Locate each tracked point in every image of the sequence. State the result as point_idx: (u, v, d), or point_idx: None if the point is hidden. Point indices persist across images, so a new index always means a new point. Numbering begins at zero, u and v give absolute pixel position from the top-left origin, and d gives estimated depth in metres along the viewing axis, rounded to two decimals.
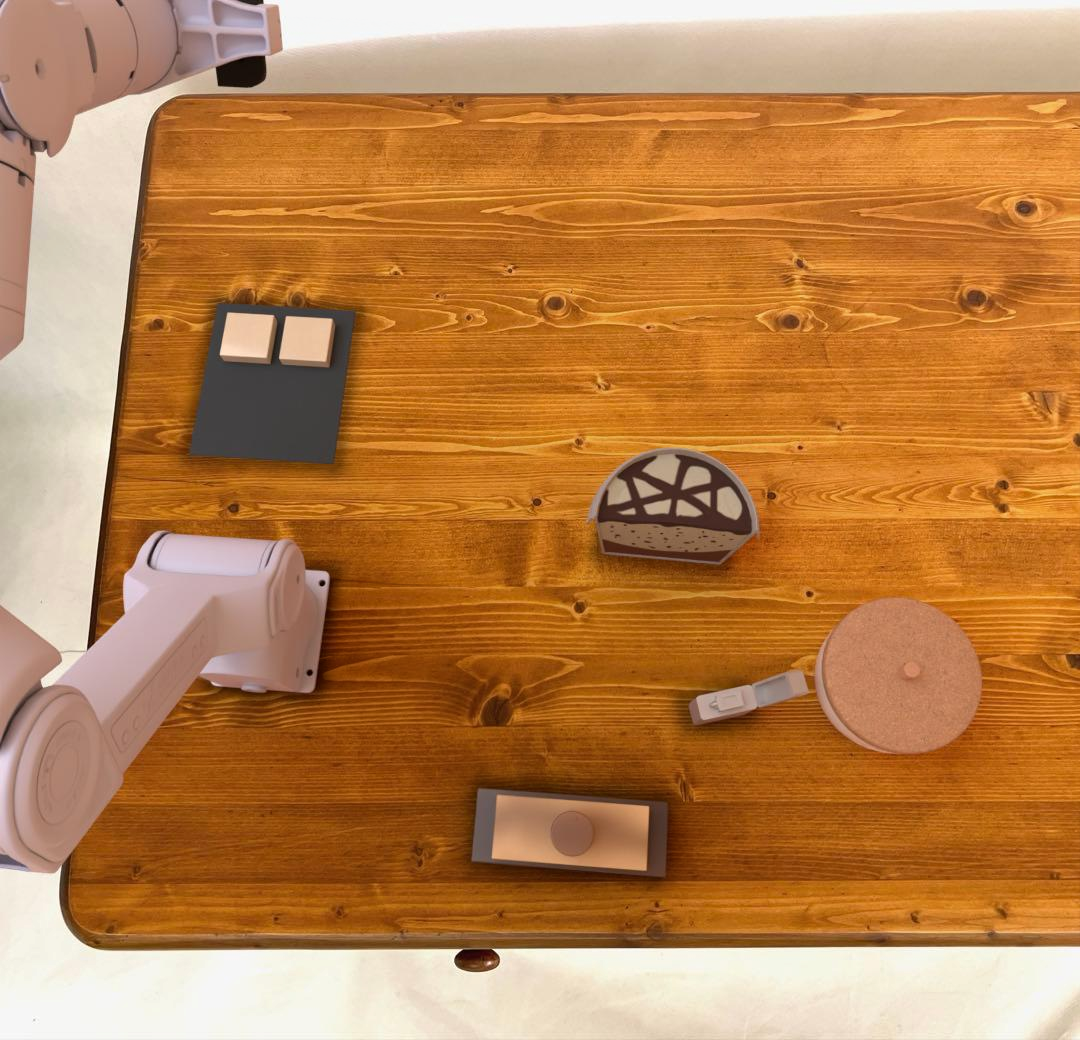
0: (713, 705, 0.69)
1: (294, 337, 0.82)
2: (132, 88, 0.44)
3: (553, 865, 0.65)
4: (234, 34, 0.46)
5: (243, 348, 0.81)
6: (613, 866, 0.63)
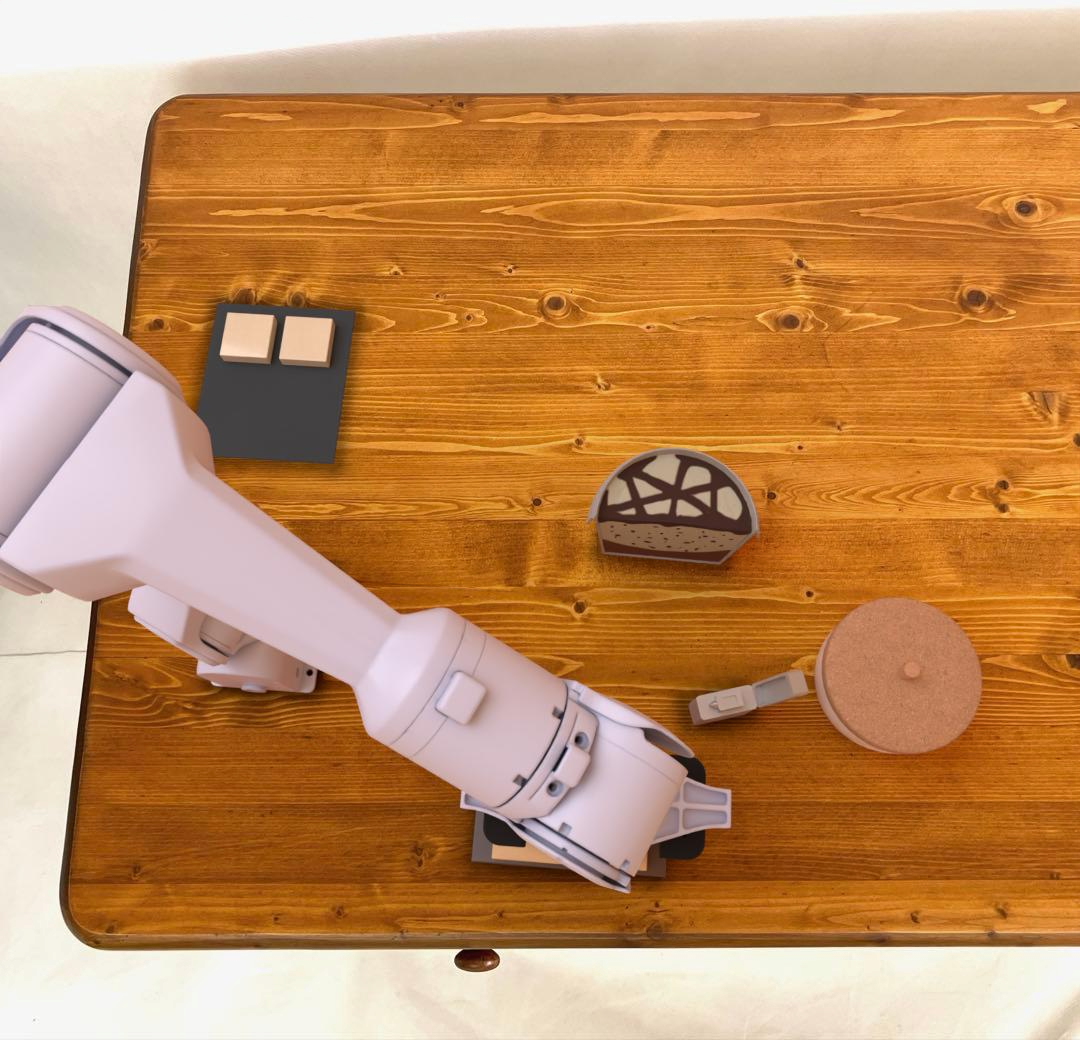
0: (713, 705, 0.69)
1: (294, 337, 0.82)
2: None
3: (553, 865, 0.65)
4: (697, 810, 0.52)
5: (243, 348, 0.81)
6: None
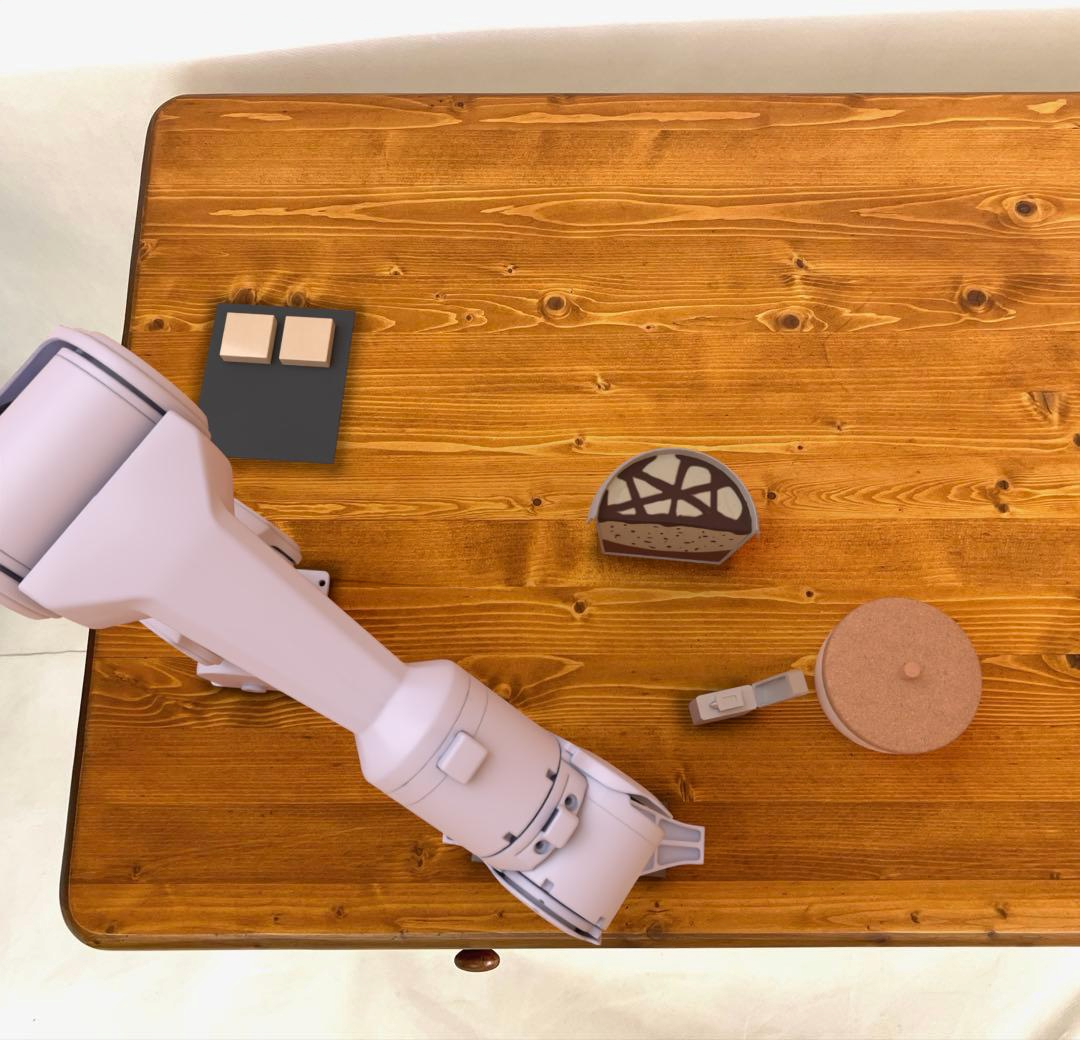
0: (713, 705, 0.69)
1: (294, 337, 0.82)
2: None
3: None
4: (672, 846, 0.54)
5: (243, 348, 0.81)
6: None
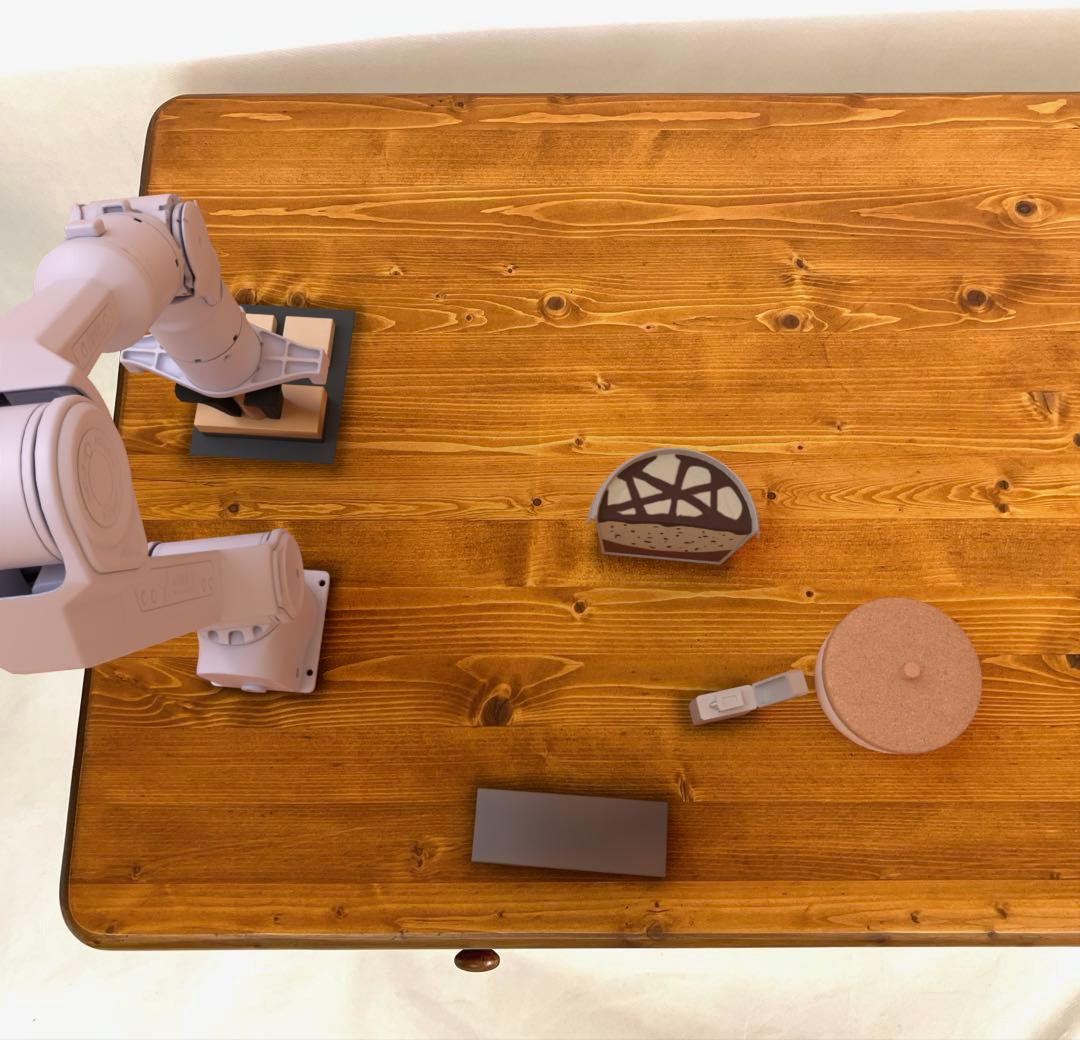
0: (713, 705, 0.69)
1: (294, 337, 0.82)
2: (225, 362, 0.66)
3: (553, 865, 0.65)
4: (297, 362, 0.70)
5: None
6: (290, 429, 0.78)
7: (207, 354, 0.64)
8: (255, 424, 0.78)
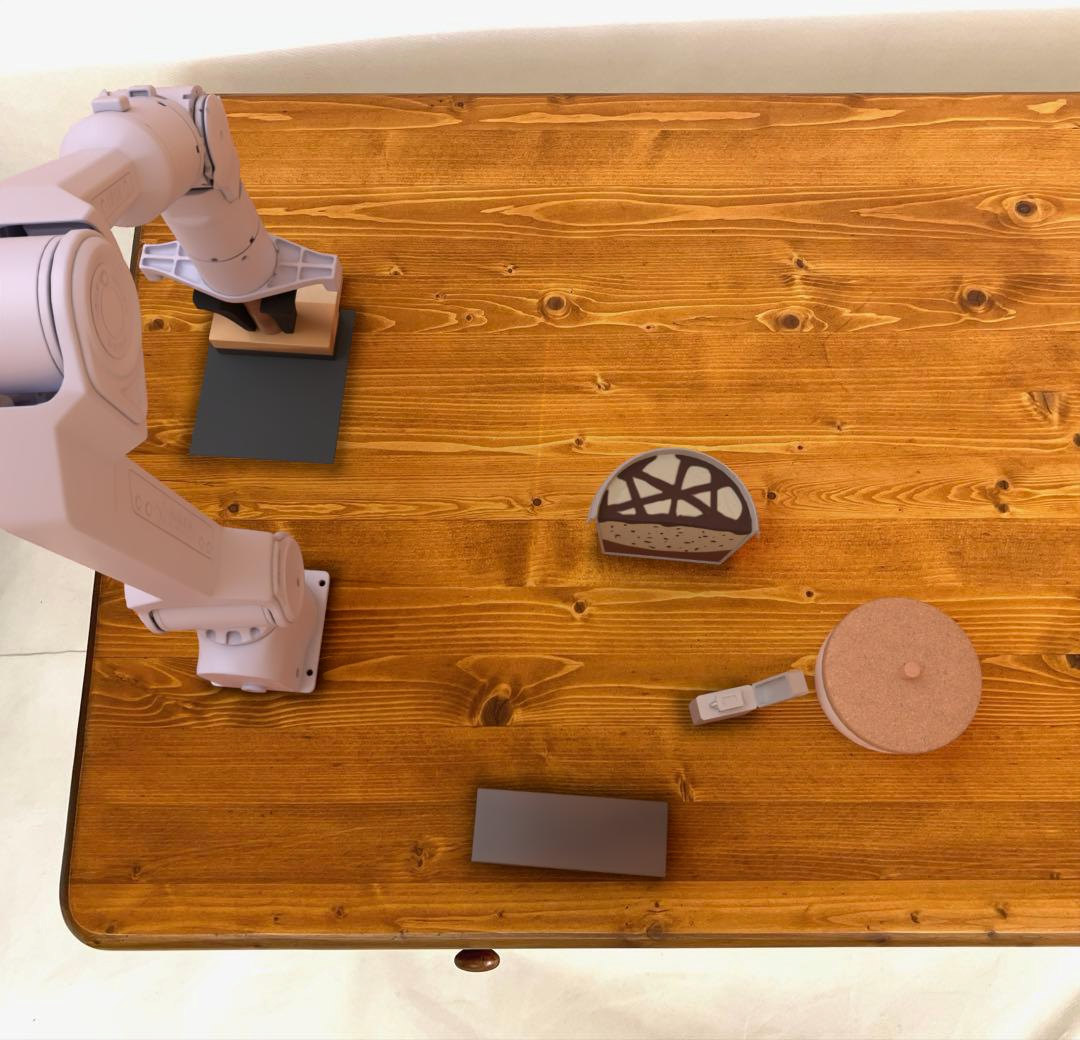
0: (713, 705, 0.69)
1: (302, 288, 0.83)
2: (243, 263, 0.68)
3: (553, 865, 0.65)
4: (312, 269, 0.72)
5: None
6: (303, 344, 0.80)
7: (224, 253, 0.66)
8: (268, 339, 0.80)
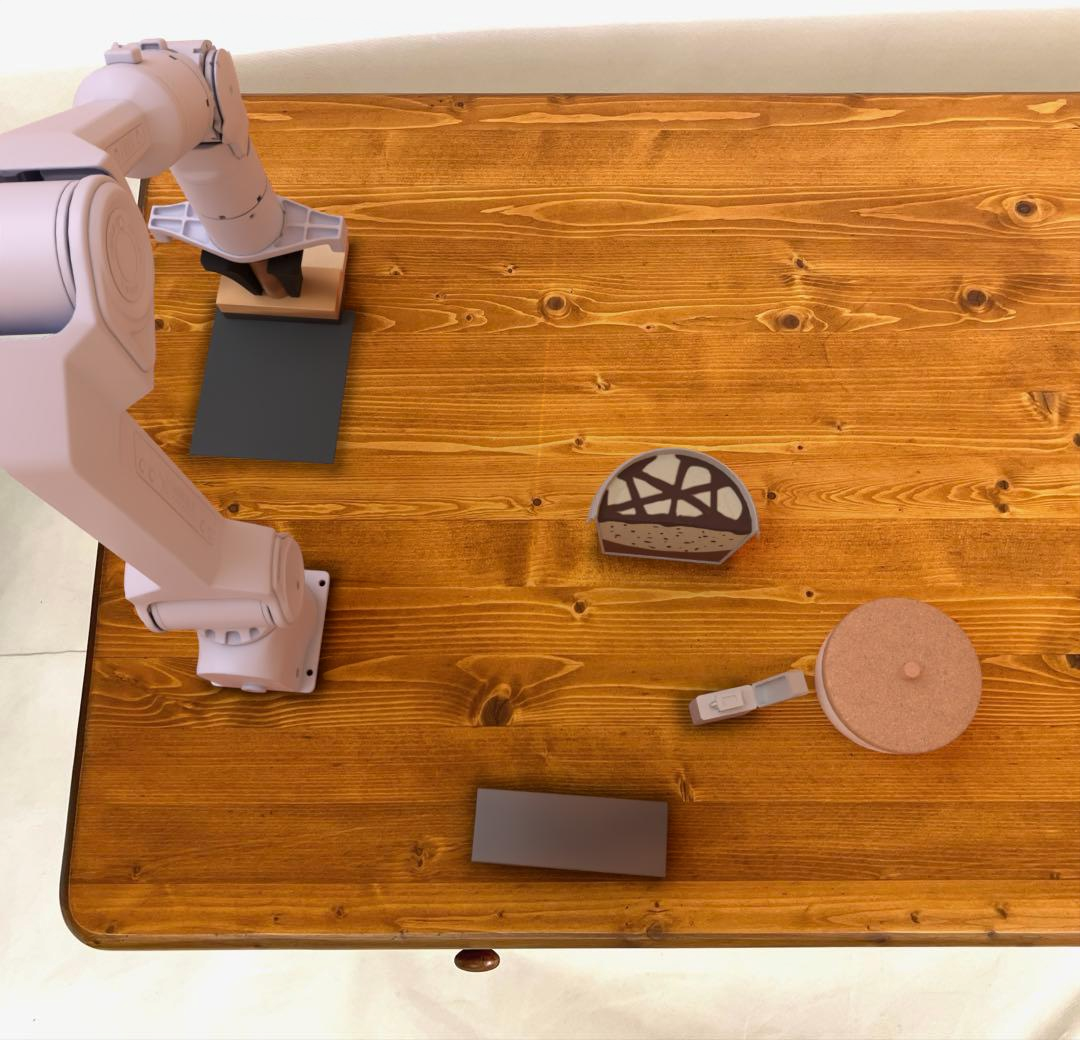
0: (713, 705, 0.69)
1: (310, 256, 0.84)
2: (251, 221, 0.69)
3: (553, 865, 0.65)
4: (318, 229, 0.73)
5: None
6: (309, 307, 0.81)
7: (231, 211, 0.67)
8: (275, 303, 0.81)
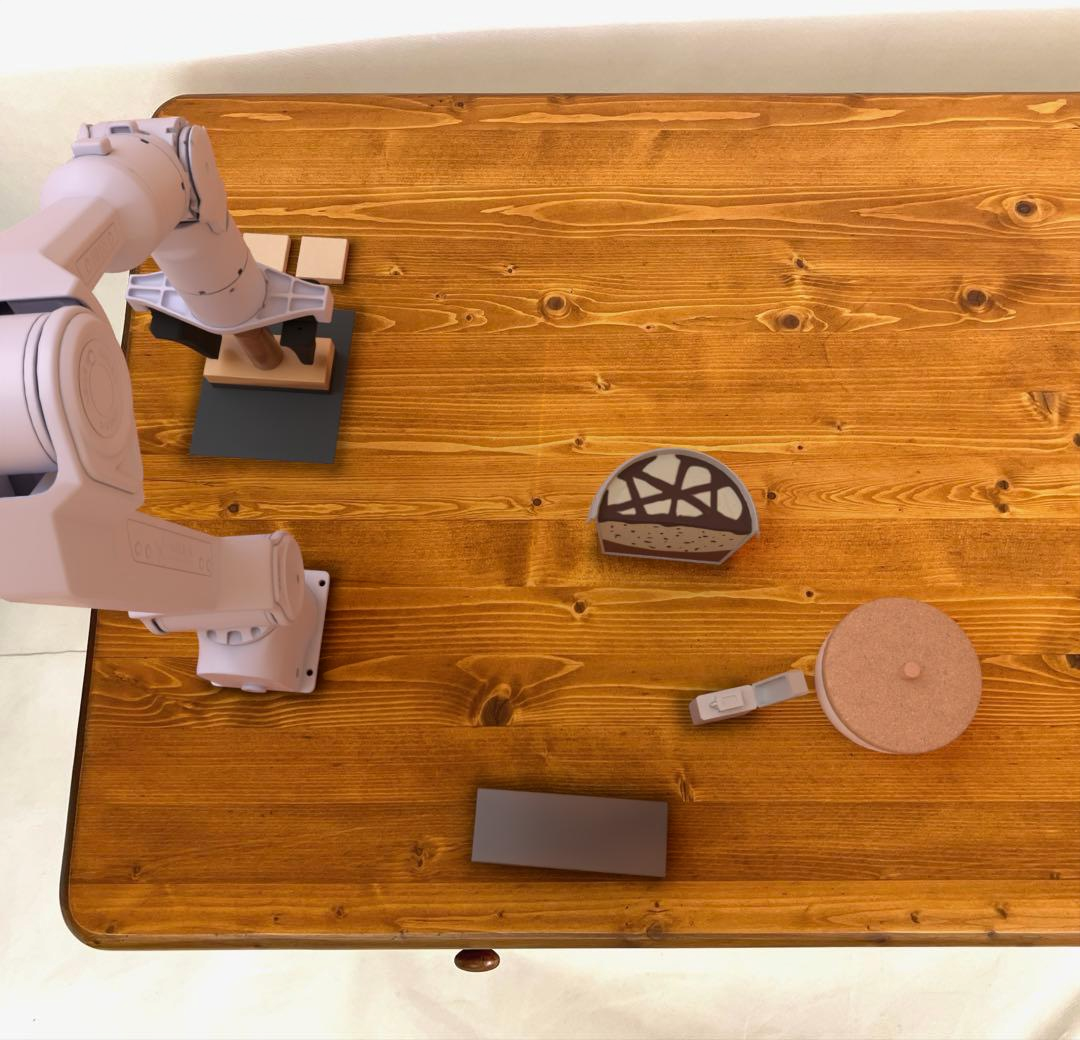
0: (713, 705, 0.69)
1: (310, 256, 0.84)
2: (231, 295, 0.66)
3: (553, 865, 0.65)
4: (303, 300, 0.70)
5: None
6: (298, 379, 0.79)
7: (211, 286, 0.64)
8: (263, 374, 0.79)
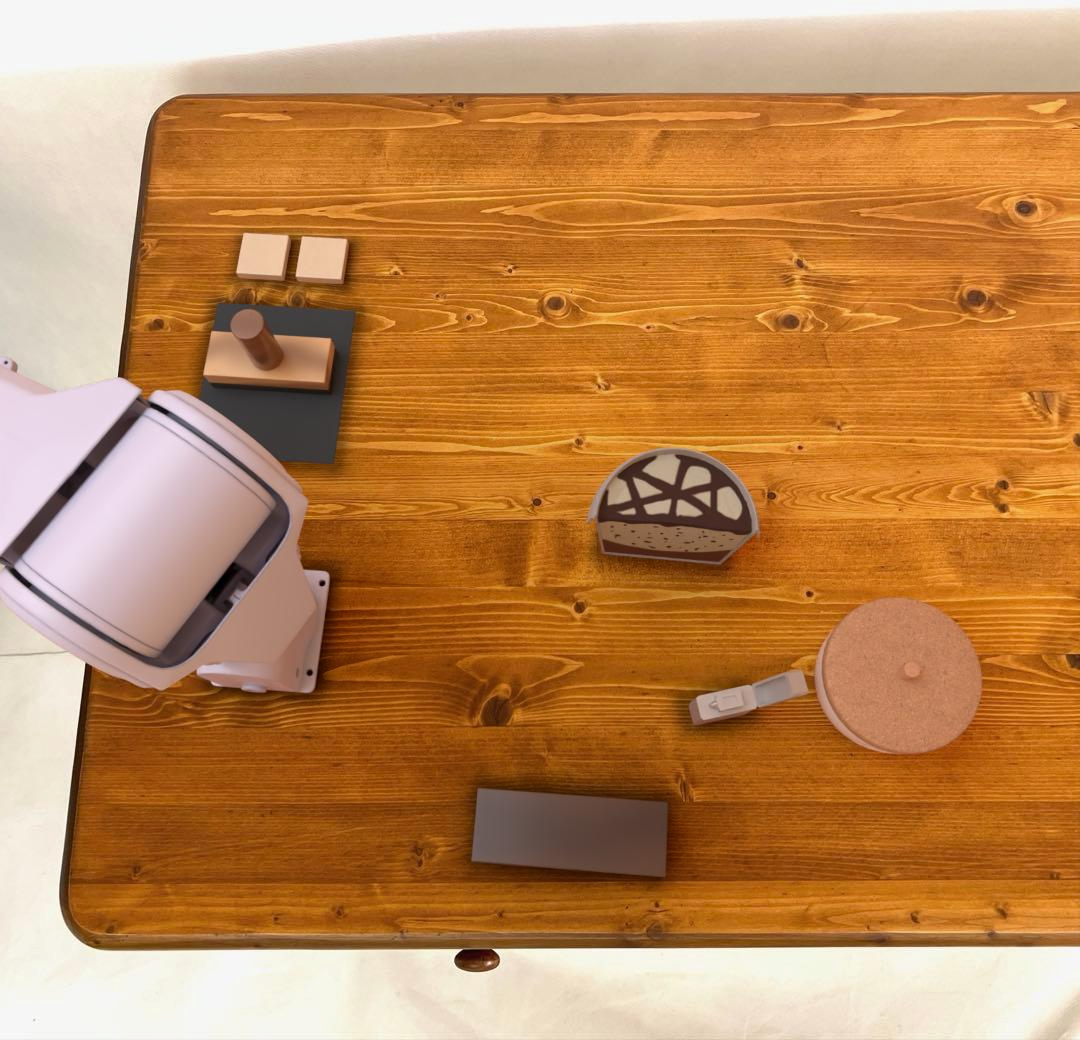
0: (713, 705, 0.69)
1: (310, 256, 0.84)
2: None
3: (553, 865, 0.65)
4: None
5: (258, 266, 0.84)
6: (298, 379, 0.79)
7: None
8: (263, 374, 0.79)
